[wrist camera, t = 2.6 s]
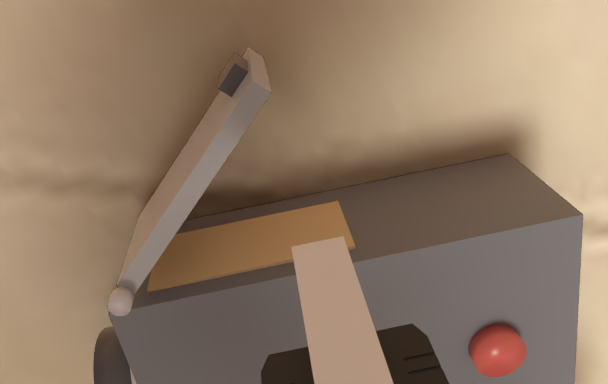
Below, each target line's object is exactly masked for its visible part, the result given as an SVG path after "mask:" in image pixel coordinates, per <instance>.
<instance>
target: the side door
mask: <svg viewBox="0 0 608 384" xmlns="http://www.w3.org/2000/svg"><path fill="white" fill-rule="evenodd" d="M218 89H219V90H220V92H219V93H218V95H217V97H216V98H215V100H214V101H213V103H212V104H211V106H210V107H209V109H208V110H207V112H206V114H205V115H204V117H203V118H202V120H201V121H200V123H199V124H198V126H197V127H196V129H195V131H194V132H193V134H192V135H191V137H190V138H189V140H188V141H187V143H186V144H185V146H184V148H183V149H182V151H181V152H180V154H179V155H178V157H177V158H176V160H175V161H174V163H173V165H172V166H171V168H170V169H169V171H168V172H167V174H166V175H165V177H164V178H163V180H162V182H161V183H160V185H159V186H158V188H157V189H156V191H155V192H154V194H153V195H152V197H151V199H150V200H149V202H148V203H147V205H146V206H145V208H144V209H143V211H142V212H141V214H140V216H139V218H138V221H137V224H136V227H135V230H134V233H133V236H132V239H131V242H130V246H129V249H128V252H127V255H126V258H125V261H124V264H123V267H122V270H121V274H120V277H119V280H118V283H117V286H118V287H126V288H128V289H130V290H131V291H132V292H133V293H134V294H135V293H136V291H137V290H138V289H139V287H140V286H141V284H142V283H143V281H144V280H145V278H146V277H147V275H148V274H149V272H150V271H151V269H152V268H153V266H154V265H155V264H156V262H157V261H158V259H159V258H160V256H161V255H162V253H163V252H164V250H165V249H166V247H167V246H168V244H169V243H170V241H171V240H172V239H173V237H174V236H175V234H176V233H177V231H178V230H179V228H180V227H181V225H182V224H183V222H184V221H185V219H186V218H187V216H188V215H189V214H190V212H191V211H192V209H193V208H194V206H195V205H196V203H197V202H198V200H199V199H200V197H201V196H202V194H203V193H204V191H205V190H206V188H207V187H208V186H209V184H210V183H211V181H212V180H213V178H214V177H215V175H216V174H217V172H218V171H219V169H220V168H221V166H222V165H223V163H224V162H225V161H226V159H227V158H228V156H229V155H230V153H231V152H232V150H233V149H234V147H235V146H236V144H237V143H238V141H239V140H240V138H241V137H242V136H243V134H244V133H245V131H246V130H247V128H248V127H249V125H250V124H251V122H252V121H253V119H254V118H255V116H256V115H257V113H258V112H259V111H260V109H261V108H262V106H263V105H264V103H265V102H266V100H267V99H268V97H269V96H270V94H271V93H272V92H271V88H270V83H269V79H268V75H267V70H266V66H265V62H264V57H262V56H261V55H259V54H258V53H256V52H255V51H253V50H252V49H250V48H249V47H248V49H247V50H246V52H245V53H244V55H243V56H242V57H241V56H239V55H238V54H236V53H234V54H233V56H232V57H231V59H230V61H229V62H228V64H227V65H226V67H225V68H224V70H223V71H222V73H221V75H220V76H219V85H218Z"/></svg>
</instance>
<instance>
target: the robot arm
mask: <svg viewBox="0 0 608 384" xmlns="http://www.w3.org/2000/svg"><path fill="white" fill-rule="evenodd" d="M291 248H292V254H293V260H294V265H295V271H296V277H297V283H298V289H299V295H300V301H301V307H302V313H303V319H304V325H305V331H306V337H307V342H308V347H303V348H298V349H294V350H289V351H284V352H279V353H275V354H270V355H268V357H267V359H266V362H265V364H264V366H263V368H262V370H261V384H449V382H448V380H447V378H446V375H445V373H444V371H443V369H442V368H441V365H440V362H439V360H438V358H437V356H436V355H435V352H434V349H433V347H432V345H431V343H430V341H429V339H428V336H427V335H426V334H425V333H423V332H422V331H421V330H420V329H418V328H417V327H416V326H415V325H414V324H412V323H411V324H407V325H402V326H397V327H392V328H388V329H383V330H378V331H375V328H374V325H373V322H372V319H371V316H370V313H369V310H368V307H367V304H366V301H365V298H364V295H363V292H362V289H361V286H360V284H359V281H358V278H357V275H356V272H355V269H354V266H353V263H352V260H351V257H350V254H349V251H348V248H347V245H346V242H345V239H344V237H343V236H341V237H336V238H332V239H327V240H322V241H317V242H312V243H307V244H302V245H297V246H293V247H291Z"/></svg>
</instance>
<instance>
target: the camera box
mask: <svg viewBox="0 0 608 384" xmlns="http://www.w3.org/2000/svg"><path fill="white" fill-rule="evenodd" d="M582 228H583V214H582V213H581V212H580V211H578V210H577V209H576V208H575V207H574V206H572V205H571V204H570V203H569V202H568V201H566V200H565V199H564V198H563V197H561V196H560V195H559V194H558V193H557V192H555V191H554V190H553V189H552V188H551V187H549V186H548V185H547V184H546V183H545V182H543V181H542V180H541V179H540V178H538V177H537V176H536V175H535V174H534V173H532V172H531V171H530V170H529V169H528V168H526V167H525V166H524V165H523V164H521V163H520V162H519V161H518V160H517V159H515V158H514V157H513V156H512V155H511V154H505V155H500V156H495V157H490V158H486V159H481V160H476V161H471V162H466V163H461V164H457V165H452V166H447V167H442V168H437V169H432V170H427V171H423V172H418V173H413V174H408V175H403V176H398V177H394V178H389V179H384V180H379V181H374V182H369V183H364V184H360V185H355V186H350V187H345V188H340V189H335V190H330V191H326V192H321V193H316V194H311V195H306V196H301V197H297V198H292V199H287V200H282V201H277V202H272V203H267V204H263V205H258V206H253V207H248V208H243V209H238V210H234V211H229V212H224V213H219V214H214V215H209V216H204V217H200V218H195V219H190V220H185V221H184V222H183V224H182V225H181V227H180V228H179V230H178V231H177V233H176V234H175V236H174V237H173V239H172V240H171V241H170V243H169V244H168V246H167V247H166V249H165V250H164V252H163V253H162V255H161V256H160V258H159V259H158V261H157V262H156V264H155V265H154V266H153V268H152V269H151V271H150V272H149V274H148V275H147V277H146V278H145V280H144V281H143V283H142V284H141V286H140V287H139V289H138V290H137V291H136V293H135V294H134V293H133V292H132V291H131V290H130V289H128V288H126V287H118V286H117V288H116V289H114V290H113V291H112V293H111V296H110V299H109V302H108V305H107V308H108V310H109V314H108V315H109V317H110V319H111V322H112V324H113V326H112V327H108V328H104V329H103V330H102V331H101V332H100V334H99V336H98V339H97V342H96V346H95V352H94V384H261V370H262V368H263V366H264V364H265V362H266V359H267V357H268V355H270V354H275V353H279V352H284V351H289V350H294V349H298V348H303V347H308V342H307V337H306V331H305V325H304V319H303V313H302V307H301V301H300V295H299V289H298V283H297V277H296V271H295V265H294V260H293V254H292V248H291V247H293V246H297V245H302V244H307V243H312V242H317V241H322V240H327V239H332V238H336V237H341V236H343V237H344V239H345V242H346V245H347V248H348V251H349V254H350V257H351V260H352V263H353V266H354V269H355V272H356V275H357V278H358V281H359V284H360V286H361V289H362V292H363V295H364V298H365V301H366V304H367V307H368V310H369V313H370V316H371V319H372V322H373V325H374V328H375V331H378V330H383V329H388V328H392V327H397V326H402V325H407V324H411V323H412V324H414V325H415V326H416V327H417V328H418V329H420V330H421V331H422V332H423V333H425V334H426V335H427V336H428V339H429V341H430V343H431V345H432V347H433V349H434V352H435V355H436V356H437V358H438V360H439V362H440V365H441V368H442V369H443V371H444V373H445V375H446V378H447V380H448V382H449V384H574V380H575V361H576V342H577V323H578V304H579V285H580V266H581V247H582Z"/></svg>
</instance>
